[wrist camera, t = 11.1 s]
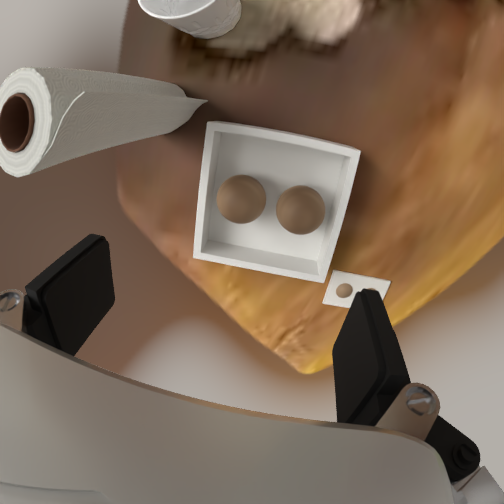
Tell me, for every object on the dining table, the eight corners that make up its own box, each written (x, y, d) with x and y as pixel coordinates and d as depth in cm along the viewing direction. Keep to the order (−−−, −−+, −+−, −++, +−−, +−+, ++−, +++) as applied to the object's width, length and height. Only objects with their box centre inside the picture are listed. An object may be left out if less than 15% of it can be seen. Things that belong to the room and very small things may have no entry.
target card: (390, 280, 35) (390, 282, 35) (376, 311, 38) (377, 312, 37) (333, 269, 36) (333, 271, 35) (322, 302, 38) (322, 303, 37)
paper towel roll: (132, 120, 30) (-20, 154, 11) (155, 74, 27) (3, 57, 8) (182, 147, 31) (47, 208, 12) (208, 100, 28) (82, 91, 9)
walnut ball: (272, 175, 31) (267, 186, 26) (264, 218, 33) (258, 236, 29) (226, 166, 31) (213, 176, 26) (220, 209, 33) (208, 226, 29)
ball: (327, 186, 31) (334, 198, 26) (316, 228, 33) (320, 247, 28) (281, 176, 31) (280, 187, 26) (273, 219, 33) (270, 237, 28)
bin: (352, 146, 29) (360, 151, 25) (320, 265, 35) (323, 283, 32) (216, 120, 29) (207, 121, 26) (202, 242, 36) (193, 257, 32)
